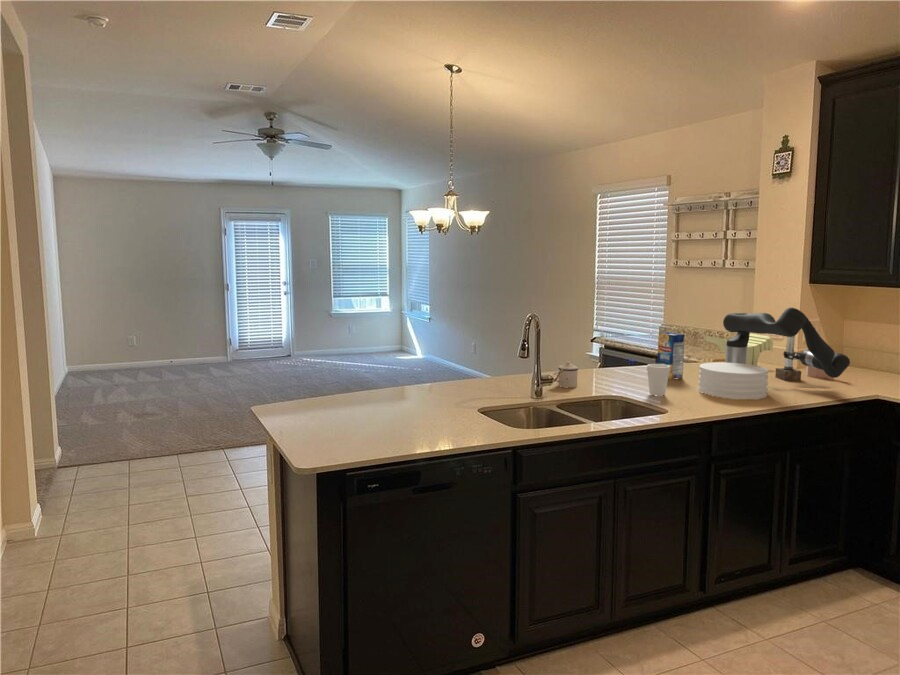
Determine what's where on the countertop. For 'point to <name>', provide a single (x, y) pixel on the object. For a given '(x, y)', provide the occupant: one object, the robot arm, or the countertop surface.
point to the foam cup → (658, 378)
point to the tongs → (790, 348)
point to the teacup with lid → (567, 375)
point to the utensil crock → (817, 373)
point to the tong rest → (788, 374)
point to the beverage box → (671, 352)
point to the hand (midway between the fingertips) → (793, 353)
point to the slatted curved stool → (753, 348)
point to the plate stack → (733, 380)
